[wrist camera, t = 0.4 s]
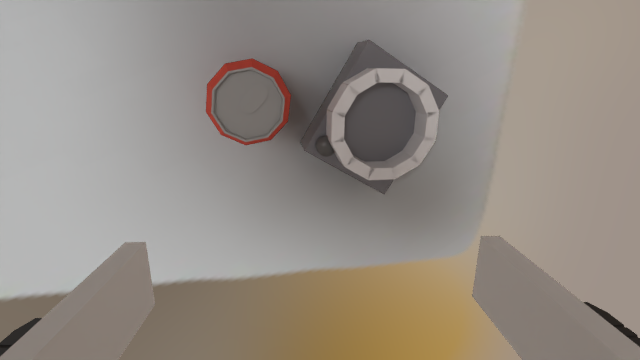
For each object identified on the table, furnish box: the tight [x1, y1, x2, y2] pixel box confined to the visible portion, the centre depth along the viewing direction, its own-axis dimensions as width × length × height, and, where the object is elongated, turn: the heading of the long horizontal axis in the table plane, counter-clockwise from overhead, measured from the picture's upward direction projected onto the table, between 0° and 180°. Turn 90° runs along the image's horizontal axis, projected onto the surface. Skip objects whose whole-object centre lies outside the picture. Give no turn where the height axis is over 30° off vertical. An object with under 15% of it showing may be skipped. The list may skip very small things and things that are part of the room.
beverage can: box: [206, 59, 291, 145], centre depth 30 cm, size 6×6×12 cm
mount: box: [300, 40, 448, 194], centre depth 35 cm, size 12×10×6 cm
